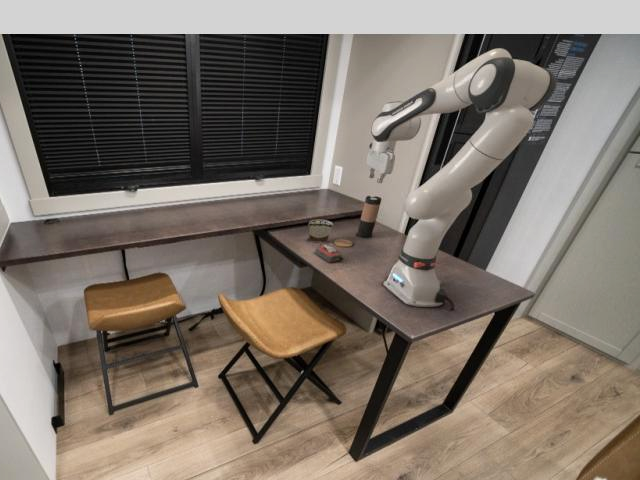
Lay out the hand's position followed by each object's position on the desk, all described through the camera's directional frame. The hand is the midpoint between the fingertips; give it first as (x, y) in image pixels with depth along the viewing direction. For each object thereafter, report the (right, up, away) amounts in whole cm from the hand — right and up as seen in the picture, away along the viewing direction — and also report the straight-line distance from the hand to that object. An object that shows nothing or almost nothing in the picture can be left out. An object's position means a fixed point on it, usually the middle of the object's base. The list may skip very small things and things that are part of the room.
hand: (375, 180), depth 139 cm
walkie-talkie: (-21, -32, +7) cm, 39 cm away
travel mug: (+6, -19, +28) cm, 34 cm away
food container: (-21, -23, +21) cm, 38 cm away
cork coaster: (-8, -25, +18) cm, 32 cm away
